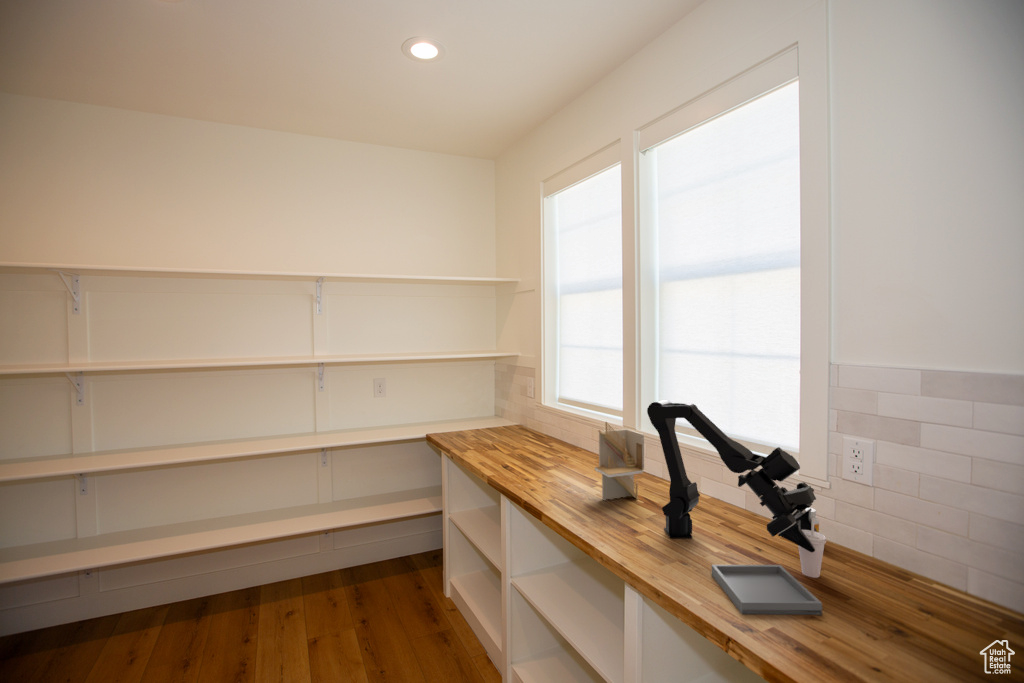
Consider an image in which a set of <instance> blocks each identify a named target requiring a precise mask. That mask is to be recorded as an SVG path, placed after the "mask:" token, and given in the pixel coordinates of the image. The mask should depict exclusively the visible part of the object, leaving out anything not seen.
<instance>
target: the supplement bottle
mask: <svg viewBox="0 0 1024 683" xmlns="http://www.w3.org/2000/svg"><path fill="white" fill-rule="evenodd" d="M809 509H811V517H810V518H814V526H815V528H816V530H817V532H819V531H820V520H819V519H818V517H817V510H816V509H815V508H814V507H811V506H810V507H809V508H806V509H805V510H806V511H807V510H809ZM819 533H820V532H819Z"/></svg>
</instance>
